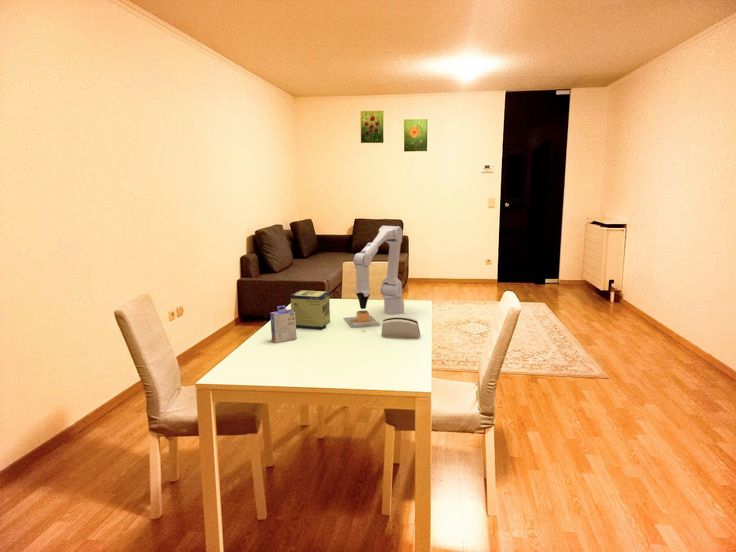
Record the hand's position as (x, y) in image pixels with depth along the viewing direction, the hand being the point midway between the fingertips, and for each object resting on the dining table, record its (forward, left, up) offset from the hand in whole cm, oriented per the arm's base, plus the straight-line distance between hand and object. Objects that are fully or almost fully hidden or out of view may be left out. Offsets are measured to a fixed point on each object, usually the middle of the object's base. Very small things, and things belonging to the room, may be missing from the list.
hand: (363, 308), depth 235 cm
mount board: (0, -4, -8) cm, 9 cm away
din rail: (0, 0, -8) cm, 8 cm away
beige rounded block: (-12, +19, -9) cm, 24 cm away
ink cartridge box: (+37, +9, -9) cm, 39 cm away
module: (0, 0, -7) cm, 7 cm away
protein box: (+23, -8, -9) cm, 26 cm away
